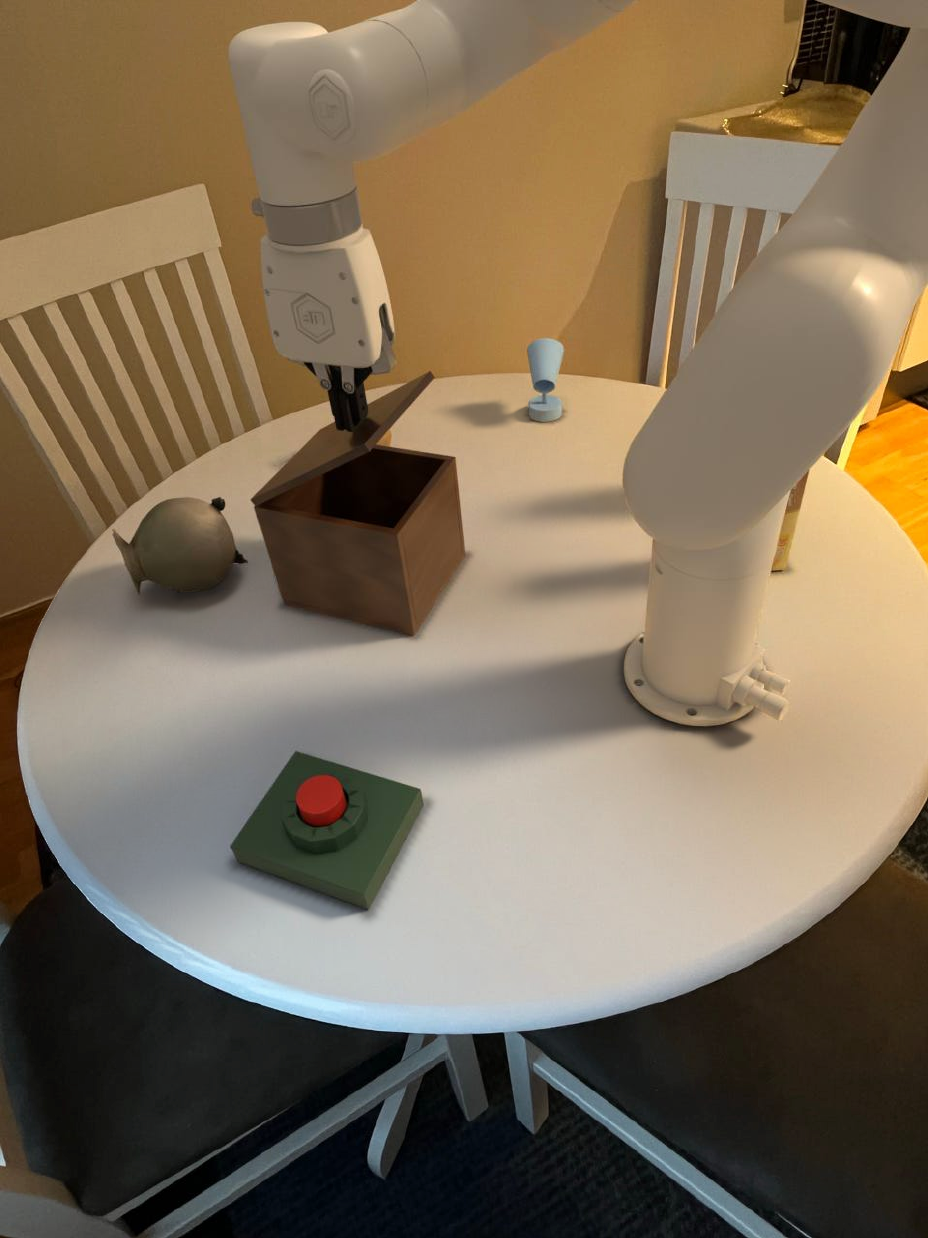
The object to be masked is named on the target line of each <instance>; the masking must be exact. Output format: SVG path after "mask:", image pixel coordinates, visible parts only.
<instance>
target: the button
mask: <svg viewBox="0 0 928 1238" xmlns="http://www.w3.org/2000/svg"><path fill="white" fill-rule="evenodd" d="M296 802H297V805H298V807H299V810H300V813H301V815H302V818H303V819H304V820H305V821H306V822H307V823H309V824H310V825H313V826H326V825H329V824H332V823H333V822H335V821H337V820H338V819H339V818H340V817H341V816H342V814H343V813H344V811H345V808H346V799H345V796H344V792H343V789H342V786H341V784H340V782H339V781H338V780H337V779H336V778H334V777H332V776H328V775H319V776H315V777H312V778H310V779H308V780H307V781H305V782H304V783H303V784H302V785H301V786H300V788H299V789H298V791H297V795H296Z"/></svg>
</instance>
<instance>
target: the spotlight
mask: <svg viewBox="0 0 928 1238" xmlns="http://www.w3.org/2000/svg"><path fill="white" fill-rule="evenodd" d="M564 354H565V347H564V345H563V344H562V343H561V342H560V341H558V340H556V339H554V338H550V337H543V338H537V339H534V340H533V341H532V342H531V343H529V344H528V346H527V348H526V355H527V360H528V365H529V371H530V377H531V383H532V388H533V390H534V391H535V392H537V393H540V394H541V395H536V396H534V397H533V398H531V399H530V400H529V401H528V407H527V408H528V409H527V410H528V417H529V418H530V419H531V420H533V421H536V422H540V423H547V422H548V423H549V422H553V421H556V420H558V419H560V418H561V416H562V414H563V404H562V403H563V402H562V399H560V398H559V397H558V396H556V395H552V394H549V393H552V392H553V391H554V390H555V388H556V385H557V381H558V377H559V374H560V369H561V366H562V362H563V357H564Z"/></svg>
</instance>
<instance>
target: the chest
mask: <svg viewBox="0 0 928 1238" xmlns="http://www.w3.org/2000/svg"><path fill="white" fill-rule="evenodd" d="M458 477H459V476H458V467H457V458H456V456H454V455H453V456H452V455H445V454H439V453H433V452H426V451H420V450H414V449H413V450H412V449H407V448H401V447H394V446H390V447H389V446H382V445H375V446H374V447H373V448H372V449H371V451H370V452H368V453H366V454H364V455H361V456H359V457H357V458H355V459H353V460H351V461H349V462H347V463H345V464H343V465H340V466H338V467H336V468H334V469H332V470H330V471H328V472H326V473H324V474H322V475H320V476H317V477H315V478H313V479H311V480H309V481H307V482H305V483H303V484H301V485H299V486H296V487H294V488H292V489H290V490H288V491H286V492H284V493H282V494H280V495H278V496H275V497H273V498H271V499H269V500H267V501H265V502H263V503H261V504H259V505H257V506H255V505H253V506H254V507H253V509H254V512H255V516H256V519H257V522H258V526H259V528H260V532H261V534H262V538H263V542H264V545H265V548H266V551H267V554H268V558H269V562H270V565H271V568H272V571H273V574H274V577H275V581H276V584H277V587H278V590H279V594H280V597H281V599H282V602H283V603H282V604H283V605H284V606H288V607H292V608H296V609H300V610H305V611H308V612H314V613H318V614H321V615H326V616H330V617H334V618H338V619H343V620H347V621H352V622H355V623H359V624H364V625H368V626H372V627H376V628H380V629H385V630H389V631H393V632H398V633H402V634H405V635H410V636H416V634H417V632H418V631H419V629H420V627H421V626H422V624H423V622H424V621H425V620H426V618H427V616H428V615H429V613H430V611H431V610H432V608H433V607H434V605H435V604H436V602H437V601H438V599H439V597H440V596H441V594H442V593H443V591H444V590H445V588H446V587H447V585H448V583H449V582H450V580H451V579H452V578H453V576H454V574H455V573H456V571H457V569H458V568H459V566H460V565H461V563H462V561H463V560H464V559H465V557H466V546H465V537H464V527H463V517H462V506H461V497H460V487H459V478H458Z"/></svg>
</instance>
